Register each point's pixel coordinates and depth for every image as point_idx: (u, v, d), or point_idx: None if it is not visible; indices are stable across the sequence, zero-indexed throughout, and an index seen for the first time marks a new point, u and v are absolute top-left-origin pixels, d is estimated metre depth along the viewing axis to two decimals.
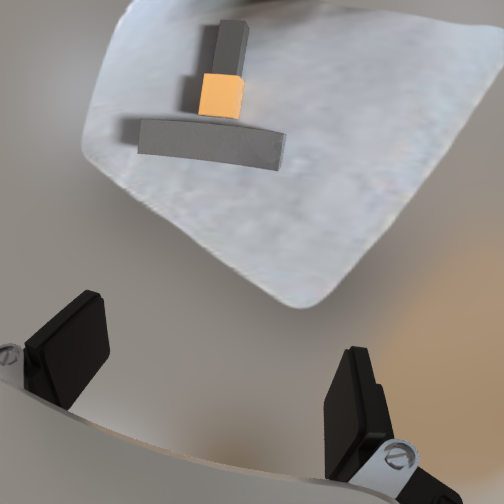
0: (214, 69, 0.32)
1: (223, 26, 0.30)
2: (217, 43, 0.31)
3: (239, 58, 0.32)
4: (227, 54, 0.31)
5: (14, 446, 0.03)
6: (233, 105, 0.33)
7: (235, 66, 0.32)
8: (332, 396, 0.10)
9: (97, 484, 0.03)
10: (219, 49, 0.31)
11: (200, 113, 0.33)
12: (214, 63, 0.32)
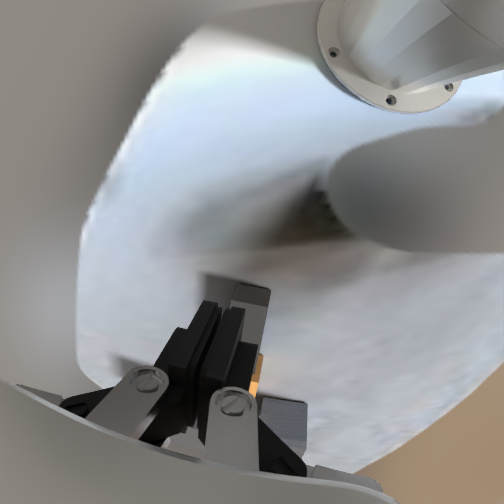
0: None
1: None
2: None
3: (258, 352, 0.27)
4: None
5: (14, 446, 0.03)
6: None
7: (254, 364, 0.27)
8: None
9: (97, 484, 0.03)
10: None
11: None
12: None
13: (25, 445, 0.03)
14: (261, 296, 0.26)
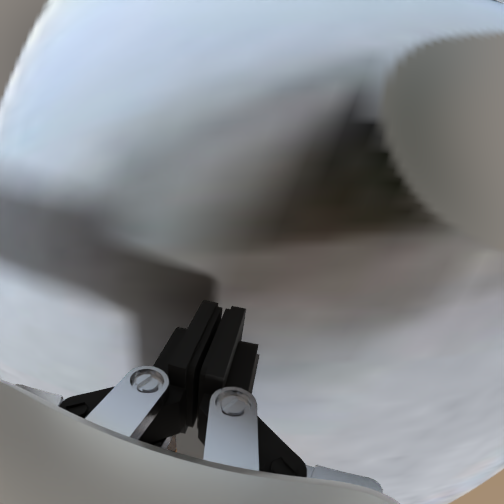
0: None
1: None
2: None
3: None
4: None
5: (14, 446, 0.03)
6: None
7: None
8: None
9: (97, 484, 0.03)
10: (186, 442, 0.13)
11: None
12: None
13: (25, 445, 0.03)
14: None
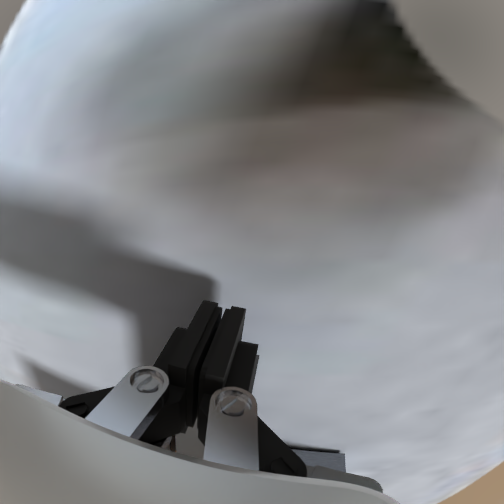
0: None
1: None
2: None
3: None
4: None
5: (14, 446, 0.03)
6: None
7: None
8: None
9: (97, 484, 0.03)
10: (185, 443, 0.13)
11: None
12: None
13: (25, 445, 0.03)
14: None
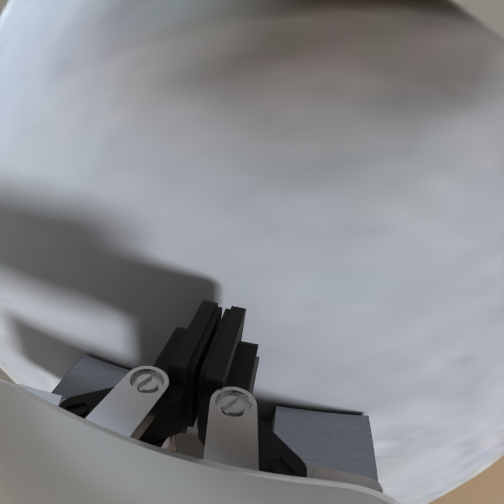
0: None
1: None
2: (178, 435, 0.12)
3: None
4: None
5: (14, 446, 0.03)
6: None
7: None
8: None
9: (97, 484, 0.03)
10: (186, 446, 0.13)
11: None
12: None
13: (25, 445, 0.03)
14: None
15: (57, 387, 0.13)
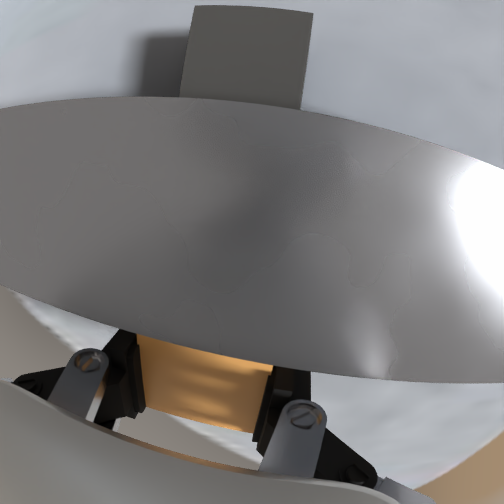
0: None
1: (207, 37, 0.06)
2: None
3: None
4: None
5: (14, 446, 0.03)
6: (259, 407, 0.09)
7: None
8: None
9: (97, 484, 0.03)
10: None
11: (149, 405, 0.10)
12: None
13: (25, 445, 0.03)
14: None
15: None
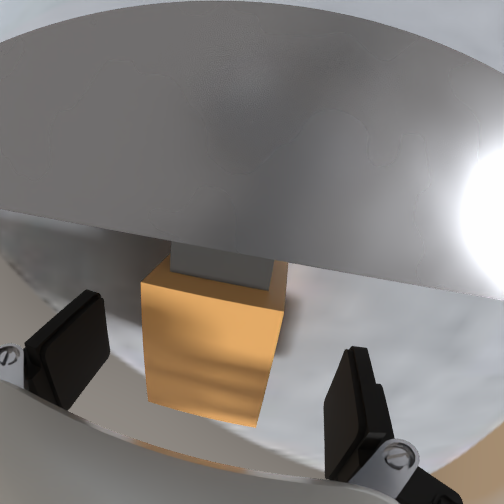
0: (181, 250, 0.09)
1: None
2: None
3: None
4: None
5: (14, 446, 0.03)
6: (259, 401, 0.09)
7: None
8: (332, 396, 0.10)
9: (97, 484, 0.03)
10: None
11: (153, 400, 0.10)
12: None
13: (25, 445, 0.03)
14: None
15: None
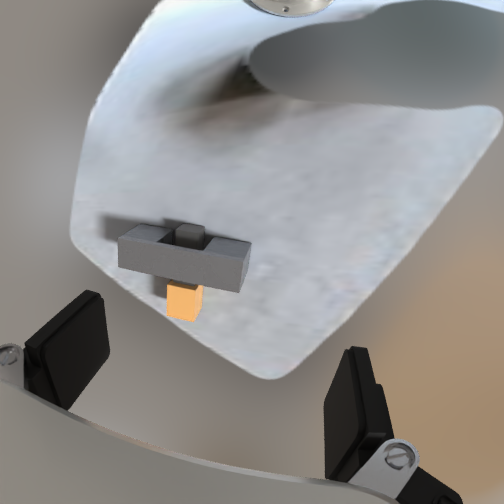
0: None
1: (179, 237, 0.40)
2: None
3: None
4: None
5: (14, 446, 0.03)
6: (193, 313, 0.42)
7: None
8: (332, 396, 0.10)
9: (97, 484, 0.03)
10: None
11: (168, 315, 0.43)
12: None
13: (25, 445, 0.03)
14: (196, 229, 0.41)
15: (131, 230, 0.40)
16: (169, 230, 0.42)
